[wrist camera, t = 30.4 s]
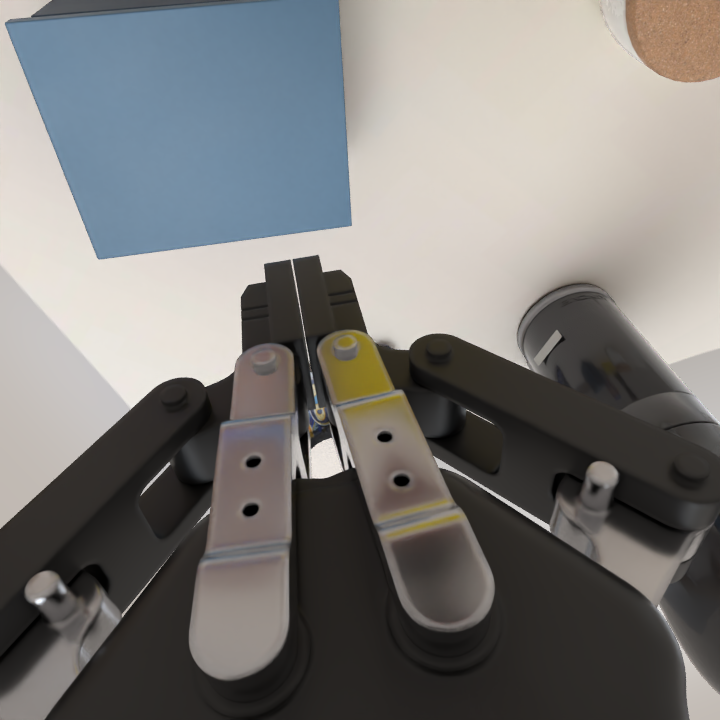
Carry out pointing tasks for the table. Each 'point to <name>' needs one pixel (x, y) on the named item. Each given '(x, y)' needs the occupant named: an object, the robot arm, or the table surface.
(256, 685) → the robot arm
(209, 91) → the lid
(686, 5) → the trinket box
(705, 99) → the table surface
